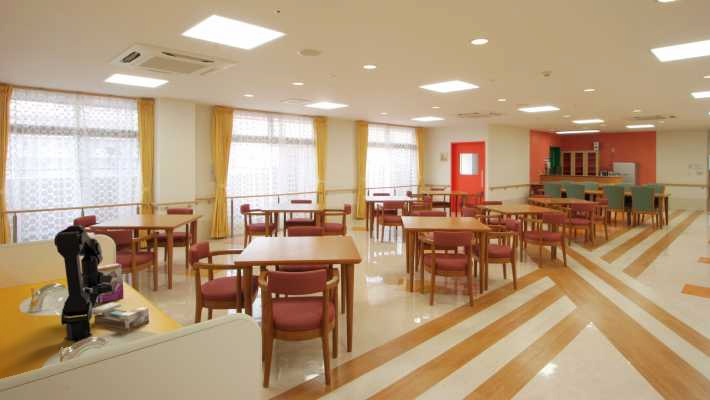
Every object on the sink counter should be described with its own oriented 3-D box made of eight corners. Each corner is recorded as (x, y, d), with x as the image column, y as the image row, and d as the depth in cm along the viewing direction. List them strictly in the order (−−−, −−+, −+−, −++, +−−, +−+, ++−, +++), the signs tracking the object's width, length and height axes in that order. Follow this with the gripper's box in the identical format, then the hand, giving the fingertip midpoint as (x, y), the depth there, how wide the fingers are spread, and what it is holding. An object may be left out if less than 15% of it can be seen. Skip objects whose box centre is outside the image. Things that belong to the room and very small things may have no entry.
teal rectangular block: (110, 320, 169) (110, 313, 168) (117, 317, 171) (116, 310, 171) (124, 323, 165) (123, 315, 165) (130, 320, 168) (130, 313, 168)
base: (129, 330, 160) (128, 315, 160) (94, 323, 168) (93, 308, 168) (149, 322, 168) (148, 308, 168) (115, 315, 176) (114, 301, 176)
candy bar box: (98, 304, 192) (96, 269, 190) (94, 302, 195) (92, 267, 193) (124, 298, 200) (122, 264, 199) (120, 296, 203) (118, 262, 202)
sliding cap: (100, 321, 166) (100, 310, 166) (91, 319, 169) (90, 309, 168) (121, 314, 175) (120, 303, 174) (112, 312, 177) (111, 302, 176)
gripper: (123, 267, 177) (125, 303, 178) (93, 264, 185) (96, 298, 186) (97, 274, 167) (100, 312, 168) (67, 270, 174) (70, 306, 176)
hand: (92, 307), depth 175 cm, fingers closed
